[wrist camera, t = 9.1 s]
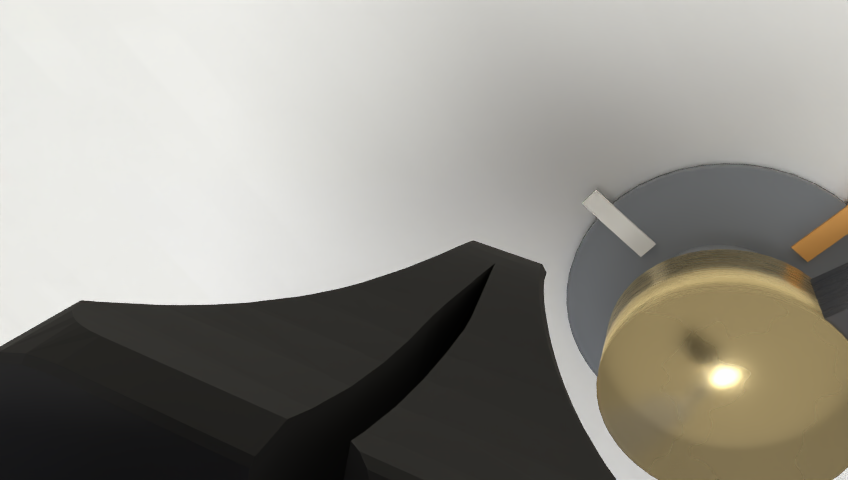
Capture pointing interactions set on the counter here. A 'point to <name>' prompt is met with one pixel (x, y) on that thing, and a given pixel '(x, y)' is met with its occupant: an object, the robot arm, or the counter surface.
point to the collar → (729, 369)
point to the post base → (698, 234)
